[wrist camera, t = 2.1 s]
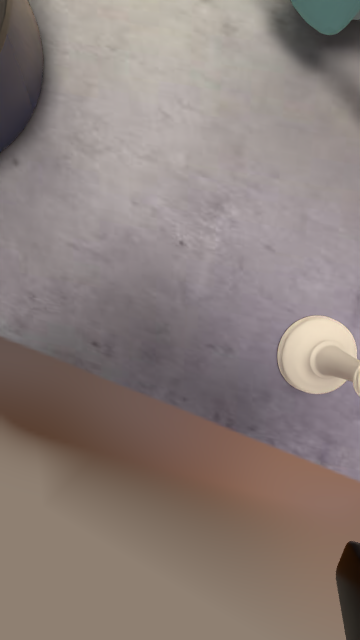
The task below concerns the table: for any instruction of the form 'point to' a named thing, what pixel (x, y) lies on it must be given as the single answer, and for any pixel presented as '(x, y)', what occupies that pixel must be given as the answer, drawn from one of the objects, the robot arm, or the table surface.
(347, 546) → the robot arm
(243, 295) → the table surface
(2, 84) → the pot
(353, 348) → the chess piece
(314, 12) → the toy figure
